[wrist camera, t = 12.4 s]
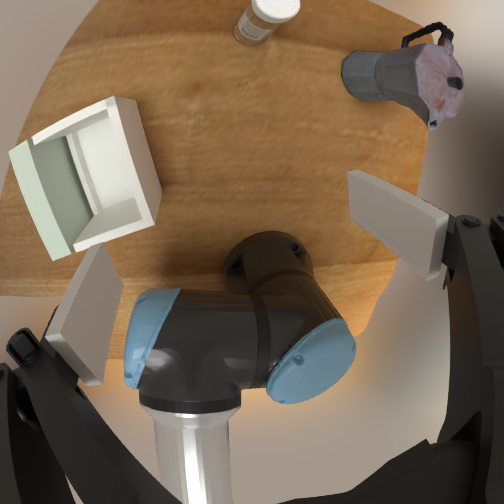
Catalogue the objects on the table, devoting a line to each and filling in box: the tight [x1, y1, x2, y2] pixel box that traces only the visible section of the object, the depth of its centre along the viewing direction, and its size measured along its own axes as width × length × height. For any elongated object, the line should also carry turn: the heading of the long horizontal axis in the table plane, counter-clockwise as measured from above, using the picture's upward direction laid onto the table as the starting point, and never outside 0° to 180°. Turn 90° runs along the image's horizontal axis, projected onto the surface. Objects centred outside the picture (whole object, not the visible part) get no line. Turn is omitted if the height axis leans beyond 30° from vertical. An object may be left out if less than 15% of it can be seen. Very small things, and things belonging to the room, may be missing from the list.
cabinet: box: [32, 96, 163, 252], centre depth 29 cm, size 14×15×12 cm
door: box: [9, 136, 94, 261], centre depth 28 cm, size 14×4×12 cm, turn 12°
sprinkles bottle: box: [234, 0, 300, 46], centre depth 24 cm, size 5×5×13 cm
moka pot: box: [341, 22, 465, 131], centre depth 26 cm, size 10×15×20 cm, turn 174°
